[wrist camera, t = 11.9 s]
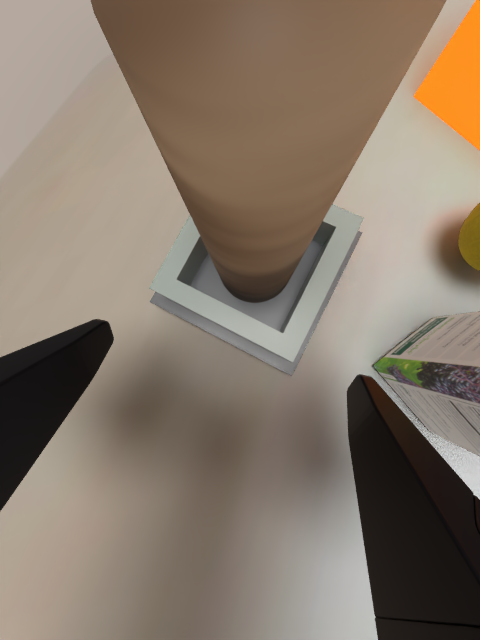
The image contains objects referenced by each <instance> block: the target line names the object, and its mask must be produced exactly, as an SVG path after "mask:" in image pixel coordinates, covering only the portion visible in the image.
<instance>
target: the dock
mask: <svg viewBox="0 0 480 640" xmlns="http://www.w3.org/2000/svg"><path fill="white" fill-rule="evenodd" d="M363 219H364V218H363V217H361V216H359V215H356V214H354V213H352V212H349V211H347V210H345V209H343V208H340V207H338V206H336V205H333V204H332V205H331V207H330V209H329V211H328V212H327V214H326V216H325V218H324V219H323V221H322V223H321V225H320V227H319V228H318V230H317V232H316V234H315V235H314V237H313V239H312V241H311V243H310V244H309V246H308V248H307V250H306V251H305V253H304V255H303V257H302V258H301V260H300V262H299V264H298V266H297V267H296V269H295V271H294V273H293V274H292V276H291V278H290V280H289V282H288V283H287V285H286V287H285V288H284V289H283V290H282V292H281V293H280V294H278V295H277V296H276V297H274V298H272V299H270V300H268V301H265V302H260V303H250V302H245V301H242V300H240V299H238V298H236V297H234V296H233V295H232V294H231V293H230V292H229V291H228V290H227V289H226V288H225V286H224V285H223V282H222V280H221V278H220V276H219V274H218V272H217V270H216V268H215V266H214V264H213V261H212V259H211V257H210V255H209V253H208V251H207V249H206V247H205V245H204V243H203V241H202V238H201V236H200V234H199V232H198V230H197V228H196V226H195V224H194V222H193V220H192V217H191V215H190V216H189V218H188V219H187V221H186V223H185V225H184V227H183V228H182V230H181V232H180V234H179V236H178V237H177V239H176V241H175V243H174V245H173V246H172V248H171V250H170V252H169V254H168V255H167V257H166V259H165V261H164V263H163V264H162V266H161V268H160V270H159V271H158V273H157V275H156V277H155V279H154V280H153V282H152V284H151V286H150V289H152V290H153V291H155V293H154V295H153V297H152V299H151V301H150V302H151V303H153V304H155V305H157V306H159V307H161V308H163V309H165V310H166V311H168V312H170V313H172V314H174V315H176V316H178V317H180V318H182V319H184V320H186V321H187V322H189V323H191V324H193V325H195V326H197V327H199V328H201V329H203V330H205V331H207V332H208V333H210V334H212V335H214V336H216V337H218V338H220V339H222V340H224V341H226V342H228V343H229V344H231V345H233V346H235V347H237V348H239V349H241V350H243V351H245V352H247V353H249V354H251V355H252V356H254V357H256V358H258V359H260V360H262V361H264V362H266V363H268V364H270V365H272V366H273V367H275V368H277V369H279V370H281V371H283V372H285V373H287V374H289V375H291V376H292V375H293V373H294V371H295V369H296V367H297V365H298V363H299V361H300V359H301V357H302V354H303V352H304V350H305V348H306V346H307V344H308V342H309V340H310V338H311V336H312V334H313V332H314V330H315V328H316V326H317V324H318V322H319V320H320V318H321V316H322V314H323V312H324V310H325V308H326V306H327V304H328V302H329V300H330V297H331V295H332V293H333V291H334V289H335V287H336V285H337V283H338V281H339V279H340V277H341V275H342V273H343V271H344V269H345V267H346V265H347V263H348V261H349V259H350V257H351V255H352V253H353V251H354V249H355V247H356V245H357V242H358V240H359V238H360V236H361V234H362V232H360V231H358V230H359V228H360V225H361V223H362V221H363Z"/></svg>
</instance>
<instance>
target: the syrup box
mask: <svg viewBox="0 0 480 640" xmlns="http://www.w3.org/2000/svg"><path fill="white" fill-rule="evenodd" d="M374 368H375V369H376V370H377V371H378V372H379V374H380V375H381V376H382V377H383V378H384V379H385V380H386V381H387V383H388V384H389V385H390V386H391V387H392V388H393V389H394V391H395V392H396V393H397V394H398V395H399V396H400V398H401V399H402V400H403V401H404V402H405V403H406V404H407V406H408V407H409V408H410V409H411V410H412V411H413V412H414V413H415V415H416V416H417V417H418V418H419V419H420V420H421V422H422V423H423V424H424V425H425V426H426V427H427V429H428V430H429V431H430V432H432V433H434V434H436V435H437V436H440V437H442V438H444V439H446V440H447V441H450V442H452V443H454V444H456V445H458V446H460V447H462V448H464V449H466V450H468V451H470V452H472V453H474V454H476V455H478V456H480V311H478V312H471V313H464V314H456V315H448V316H441V317H435V318H432V319H431V320H429V321H428V322H427V323H426V324H425V325H423V326H422V327H421V328H419V329H418V330H417V331H415V332H414V333H412V334H411V335H410V336H409V337H408V338H406V339H405V340H404V341H403V342H401V343H400V344H399V345H397V346H396V347H395V348H394V349H393V350H391V351H390V352H389V353H388V354H387V355H385V356H384V357H383V358H382V359H381V360H379V361H378V362H377V363H375V364H374Z"/></svg>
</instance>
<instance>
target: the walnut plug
mask: <svg viewBox="0 0 480 640" xmlns="http://www.w3.org/2000/svg"><path fill="white" fill-rule="evenodd" d="M445 2H446V0H91V3H92V7H93V10H94V14H95V16H96V18H97V20H98V22H99V24H100V27H101V29H102V31H103V33H104V35H105V37H106V39H107V41H108V43H109V46H110V48H111V50H112V52H113V54H114V56H115V58H116V60H117V62H118V64H119V67H120V69H121V71H122V73H123V75H124V77H125V79H126V81H127V83H128V85H129V88H130V90H131V92H132V94H133V96H134V98H135V100H136V102H137V104H138V106H139V108H140V111H141V113H142V115H143V117H144V119H145V121H146V123H147V125H148V127H149V129H150V132H151V134H152V136H153V138H154V140H155V142H156V144H157V146H158V148H159V150H160V152H161V155H162V157H163V159H164V161H165V163H166V165H167V167H168V169H169V171H170V173H171V176H172V178H173V180H174V182H175V184H176V186H177V188H178V190H179V192H180V194H181V197H182V199H183V201H184V203H185V205H186V207H187V209H188V211H189V213H190V215H191V217H192V220H193V222H194V224H195V226H196V228H197V230H198V232H199V234H200V236H201V238H202V241H203V243H204V245H205V247H206V249H207V251H208V253H209V255H210V257H211V259H212V261H213V264H214V266H215V268H216V270H217V272H218V274H219V276H220V278H221V280H222V282H223V285H224V286H225V288H226V289H227V290H228V291H229V292H230V293H231V294H232V295H233V296H234V297H236V298H238V299H240V300H242V301H245V302H250V303H260V302H265V301H268V300H270V299H272V298H274V297H276V296H277V295H278V294H280V293H281V292H282V290H283V289H284V288H285V287H286V285H287V283H288V282H289V280H290V278H291V276H292V274H293V273H294V271H295V269H296V267H297V266H298V264H299V262H300V260H301V258H302V257H303V255H304V253H305V251H306V250H307V248H308V246H309V244H310V243H311V241H312V239H313V237H314V235H315V234H316V232H317V230H318V228H319V227H320V225H321V223H322V221H323V219H324V218H325V216H326V214H327V212H328V211H329V209H330V207H331V205H332V203H333V202H334V200H335V198H336V196H337V195H338V193H339V191H340V189H341V187H342V186H343V184H344V182H345V180H346V179H347V177H348V175H349V173H350V171H351V170H352V168H353V166H354V164H355V163H356V161H357V159H358V157H359V156H360V154H361V152H362V150H363V148H364V147H365V145H366V143H367V141H368V140H369V138H370V136H371V134H372V132H373V131H374V129H375V127H376V125H377V124H378V122H379V120H380V118H381V116H382V115H383V113H384V111H385V109H386V108H387V106H388V104H389V102H390V100H391V99H392V97H393V95H394V93H395V92H396V90H397V88H398V86H399V84H400V83H401V81H402V79H403V77H404V76H405V74H406V72H407V70H408V69H409V67H410V65H411V63H412V61H413V60H414V58H415V56H416V54H417V53H418V51H419V49H420V47H421V45H422V44H423V42H424V40H425V38H426V37H427V35H428V33H429V31H430V29H431V28H432V26H433V24H434V22H435V21H436V19H437V17H438V15H439V13H440V12H441V10H442V8H443V6H444V4H445Z"/></svg>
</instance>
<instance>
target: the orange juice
mask: <svg viewBox="0 0 480 640" xmlns="http://www.w3.org/2000/svg"><path fill="white" fill-rule="evenodd" d="M413 97H415V98H416V99H417V100H418V101H420V102H421V103H422V104H423V105H425V106H426V107H427V108H428V109H429V110H431V111H432V112H433V113H434V114H436V115H437V116H438V117H439V118H441V119H442V120H443V121H444V122H445V123H447V124H448V125H449V126H450V127H452V128H453V129H454V130H455V131H456V132H458V133H459V134H460V135H461V136H463V137H464V138H465V139H466V140H468V141H469V142H470V143H471V144H472V145H474V146H475V147H476V148H477V149H479V150H480V0H476V1H475V3H474V4H473V6H472V7H471V9H470V10H469V12H468V14H467V15H466V17H465V18H464V20H463V21H462V23H461V24H460V26H459V27H458V29H457V30H456V32H455V34H454V35H453V37H452V38H451V40H450V41H449V43H448V44H447V46H446V47H445V49H444V50H443V52H442V53H441V55H440V57H439V58H438V60H437V61H436V63H435V64H434V66H433V67H432V69H431V70H430V72H429V73H428V75H427V77H426V78H425V80H424V81H423V83H422V84H421V86H420V87H419V89H418V90H417V92H416V93H415V95H414V96H413Z"/></svg>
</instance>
